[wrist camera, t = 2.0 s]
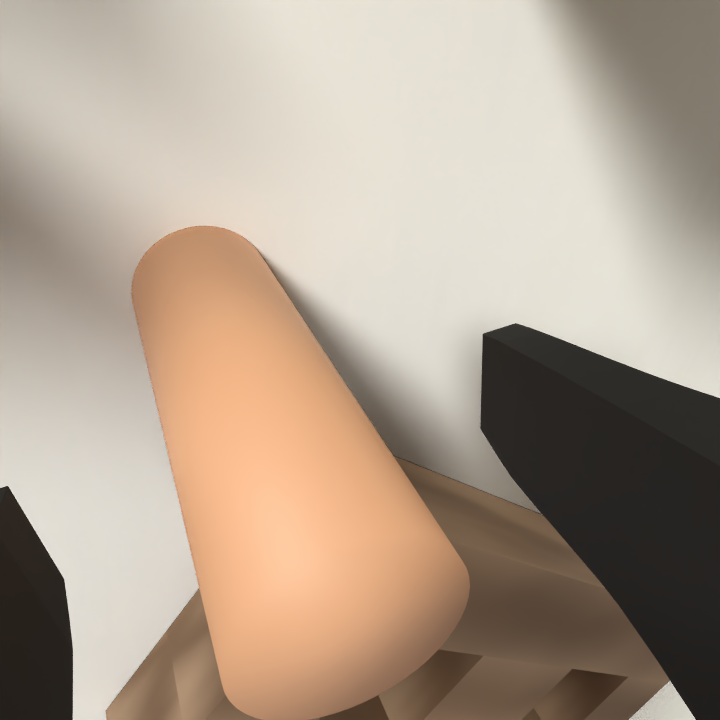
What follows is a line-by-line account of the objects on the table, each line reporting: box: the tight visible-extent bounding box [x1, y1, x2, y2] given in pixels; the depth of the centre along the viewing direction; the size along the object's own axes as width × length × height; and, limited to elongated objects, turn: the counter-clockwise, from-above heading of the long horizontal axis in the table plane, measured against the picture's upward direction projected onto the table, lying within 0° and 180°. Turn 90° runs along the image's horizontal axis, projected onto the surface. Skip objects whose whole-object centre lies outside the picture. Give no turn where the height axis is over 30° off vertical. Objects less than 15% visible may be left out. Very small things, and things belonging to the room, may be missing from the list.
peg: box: [131, 226, 470, 720], centre depth 11 cm, size 3×3×9 cm
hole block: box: [106, 456, 670, 720], centre depth 24 cm, size 12×22×4 cm, turn 50°
